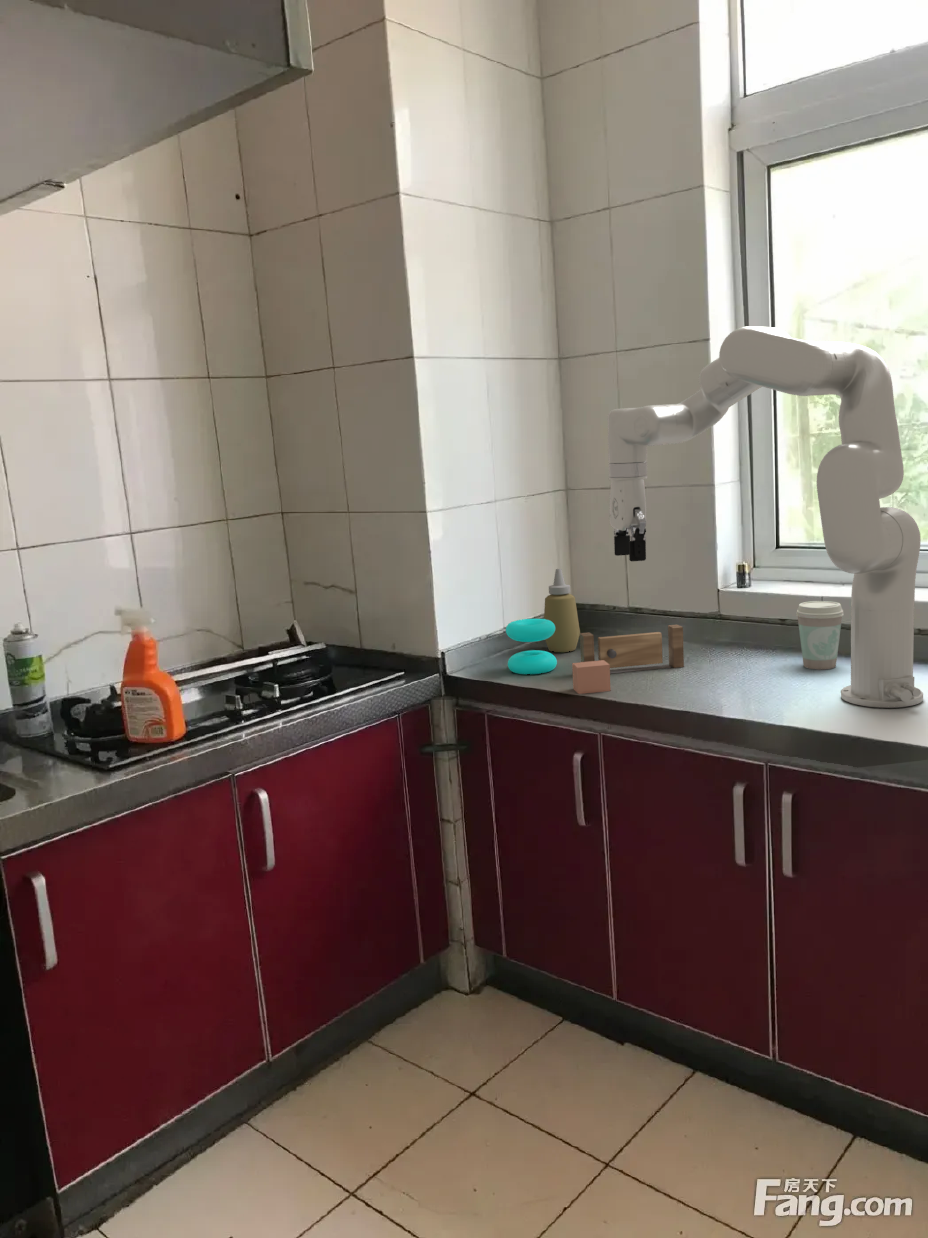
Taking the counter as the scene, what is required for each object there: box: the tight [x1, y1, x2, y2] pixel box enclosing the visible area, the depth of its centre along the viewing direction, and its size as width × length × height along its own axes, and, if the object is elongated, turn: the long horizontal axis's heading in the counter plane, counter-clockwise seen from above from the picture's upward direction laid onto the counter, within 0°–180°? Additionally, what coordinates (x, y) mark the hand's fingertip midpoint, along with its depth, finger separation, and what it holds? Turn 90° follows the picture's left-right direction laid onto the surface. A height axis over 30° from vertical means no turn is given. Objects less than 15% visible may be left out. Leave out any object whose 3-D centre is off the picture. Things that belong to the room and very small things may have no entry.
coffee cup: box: [795, 600, 845, 671], centre depth 189 cm, size 8×8×12 cm
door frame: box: [579, 624, 685, 675], centre depth 196 cm, size 3×20×8 cm, turn 98°
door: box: [597, 631, 663, 669], centre depth 195 cm, size 3×12×6 cm, turn 98°
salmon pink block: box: [571, 660, 612, 695], centre depth 183 cm, size 4×6×5 cm, turn 98°
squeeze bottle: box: [543, 568, 581, 653], centre depth 217 cm, size 8×8×18 cm
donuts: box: [505, 618, 558, 675], centre depth 201 cm, size 10×10×10 cm
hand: (629, 557), depth 200 cm, fingers open, 9 cm apart
